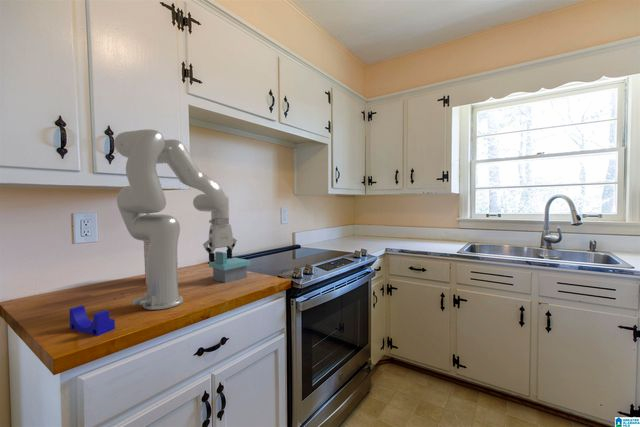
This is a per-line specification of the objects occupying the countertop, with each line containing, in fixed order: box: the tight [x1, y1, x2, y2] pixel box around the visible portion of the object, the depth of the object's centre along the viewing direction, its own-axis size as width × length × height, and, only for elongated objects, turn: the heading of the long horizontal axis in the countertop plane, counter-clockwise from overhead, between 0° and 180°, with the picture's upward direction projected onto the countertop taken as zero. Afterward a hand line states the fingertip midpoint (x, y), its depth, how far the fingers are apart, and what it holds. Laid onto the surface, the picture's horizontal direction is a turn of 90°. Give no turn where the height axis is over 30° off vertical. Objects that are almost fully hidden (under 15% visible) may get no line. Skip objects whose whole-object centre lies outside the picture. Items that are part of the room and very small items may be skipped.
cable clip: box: [68, 305, 116, 337], centre depth 83 cm, size 12×4×6 cm, turn 69°
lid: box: [208, 251, 251, 270], centre depth 136 cm, size 15×12×7 cm
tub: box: [212, 265, 248, 284], centre depth 137 cm, size 12×9×7 cm
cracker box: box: [143, 241, 151, 286], centre depth 132 cm, size 14×6×21 cm, turn 25°
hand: (220, 259), depth 132 cm, fingers open, 8 cm apart
